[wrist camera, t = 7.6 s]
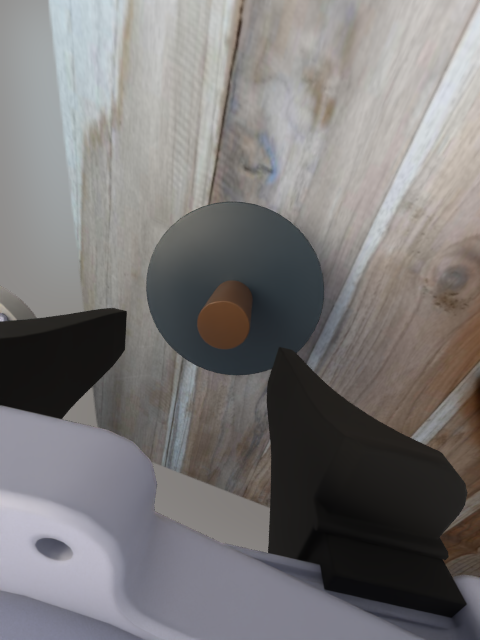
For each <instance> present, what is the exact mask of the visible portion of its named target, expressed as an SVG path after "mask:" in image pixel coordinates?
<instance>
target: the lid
mask: <svg viewBox="0 0 480 640" xmlns="http://www.w3.org/2000/svg"><path fill="white" fill-rule="evenodd" d="M146 291H147V299H148V304H149V308H150V312H151V315H152V317H153V320H154V322H155V324H156V326H157V328H158V330H159V332H160V333H161V335H162V336H163V337H164V339H165V340H166V341H167V343H168V344H169V345H170V346H171V347H172V348H173V349H174V350H175V351H176V352H177V353H178V354H180V355H181V356H182V357H184V358H185V359H186V360H188V361H190V362H191V363H193V364H195V365H197V366H199V367H201V368H204V369H206V370H209V371H212V372H216V373H221V374H226V375H249V374H255V373H260V372H263V371H267V370H269V369H272V368H273V365H274V361H275V358H276V355H277V352H278V349H279V347H282V348H287V349H291V350H293V351H294V352H295V353H297V352H298V351H299V350H300V349H301V348H302V347H303V346H304V345H305V343H306V342H307V341H308V340H309V338H310V336H311V335H312V333H313V332H314V330H315V328H316V325H317V323H318V321H319V318H320V315H321V311H322V307H323V300H324V282H323V274H322V271H321V267H320V263H319V261H318V258H317V256H316V254H315V251H314V250H313V248H312V246H311V245H310V243H309V242H308V240H307V239H306V238H305V236H304V235H303V234H302V233H301V232H300V230H299V229H297V228H296V227H295V226H294V225H293V224H292V223H291V222H290V221H288V220H287V219H285V218H284V217H282V216H281V215H279V214H278V213H276V212H274V211H271V210H269V209H267V208H264V207H261V206H258V205H255V204H250V203H244V202H222V203H215V204H211V205H207V206H204V207H201V208H199V209H196V210H194V211H192V212H190V213H188V214H187V215H185V216H184V217H182V218H181V219H179V220H178V221H177V222H176V223H175V224H173V225H172V226H171V227H170V228H169V229H168V231H167V232H166V233H165V234H164V235H163V237H162V238H161V240H160V241H159V243H158V244H157V246H156V248H155V250H154V252H153V255H152V257H151V260H150V264H149V267H148V273H147V287H146Z"/></svg>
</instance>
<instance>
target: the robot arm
mask: <svg viewBox="0 0 480 640" xmlns="http://www.w3.org/2000/svg"><path fill="white" fill-rule="evenodd" d="M126 316H127V311H123V310H119V309H115V308H107V309H98V310H92V311H85V312H80V313H73V314H67V315H60V316H53V317H46V318H37V319H28V320H15V321H8V319H7V317H6V315H5V314H3V313H0V640H480V578H479V577H475V576H471V575H459V576H454V577H453V578H452V576H451V574H450V572H449V570H448V569H447V567H446V565H445V563H444V561H443V560H442V559H444V560H446V559H447V558H448V551H447V550H446V548H445V546H444V544H443V543H442V541H441V539H440V536H441V535H442V533H443V532H444V531H445V530H446V529H447V528H448V527H449V525H450V524H451V523H452V522H453V521H454V520H455V519H456V517H457V516H458V515H459V514H460V512H461V511H462V509H463V507H464V506H465V502H466V497H467V490H466V485H465V483H464V481H463V480H462V479H461V477H460V476H459V474H458V473H457V472H456V471H455V469H454V468H453V467H452V465H451V464H450V463H449V462H448V460H447V459H446V458H445V456H444V455H443V454H442V453H441V452H439V451H437V450H435V449H433V448H431V447H429V446H426V445H424V444H422V443H420V442H418V441H416V440H414V439H412V438H409V437H407V436H405V435H403V434H401V433H399V432H398V431H396V430H394V429H392V428H390V427H388V426H387V425H385V424H383V423H381V422H379V421H378V420H376V419H374V418H373V417H371V416H369V415H368V414H366V413H365V412H363V411H362V410H360V409H359V408H357V407H356V406H354V405H353V404H351V403H350V402H348V401H347V400H346V399H345V398H343V397H342V396H341V395H339V394H338V393H337V392H335V391H334V390H333V389H332V388H331V387H329V386H328V385H327V384H326V383H325V382H324V381H323V380H322V379H321V378H320V377H319V376H318V375H317V374H315V373H314V372H313V371H312V369H311V368H310V367H309V366H308V365H307V364H306V363H305V362H304V361H303V360H302V359H301V358H300V357H299V356H298V355H297V354H296V353H295V352H294V351H293V350H291V349H287V348H282V347H279V349H278V352H277V355H276V358H275V361H274V365H273V368H272V371H271V374H270V377H269V380H268V386H267V410H268V421H269V431H270V442H271V500H270V525H269V547H268V553H266V552H261V551H257V550H252V549H248V548H243V547H239V546H234V545H230V544H225V543H221V542H219V541H217V540H215V539H213V538H210V537H208V536H206V535H204V534H202V533H200V532H197V531H195V530H194V529H191V528H189V527H187V526H185V525H183V524H181V523H179V522H177V521H174V520H172V519H170V518H168V517H166V516H164V515H162V514H160V513H158V512H155V509H154V503H155V495H156V488H157V482H156V478H155V474H154V469H153V465H152V462H151V460H150V459H149V458H148V457H147V456H146V455H145V454H144V453H143V452H142V451H141V449H140V448H139V447H138V446H137V445H136V444H135V443H134V442H133V441H132V440H129V439H127V438H125V437H123V436H120V435H118V434H116V433H113V432H111V431H109V430H106V429H103V428H98V427H94V426H89V425H85V424H80V423H76V422H72V421H67V420H63V419H62V418H63V417H64V416H65V414H66V413H67V412H68V411H69V410H70V408H71V407H72V406H73V405H74V404H75V403H76V402H77V401H78V400H79V399H80V398H81V397H82V396H83V395H84V394H85V393H86V392H87V391H88V390H89V389H90V388H91V387H92V386H93V385H94V384H95V383H96V382H97V381H98V380H99V379H100V378H101V377H102V376H103V375H104V374H105V373H106V372H107V371H108V370H109V369H110V368H111V367H112V366H113V365H114V364H115V363H116V361H117V360H118V359H119V357H120V356H121V354H122V353H123V352H124V350H125V335H126Z"/></svg>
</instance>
